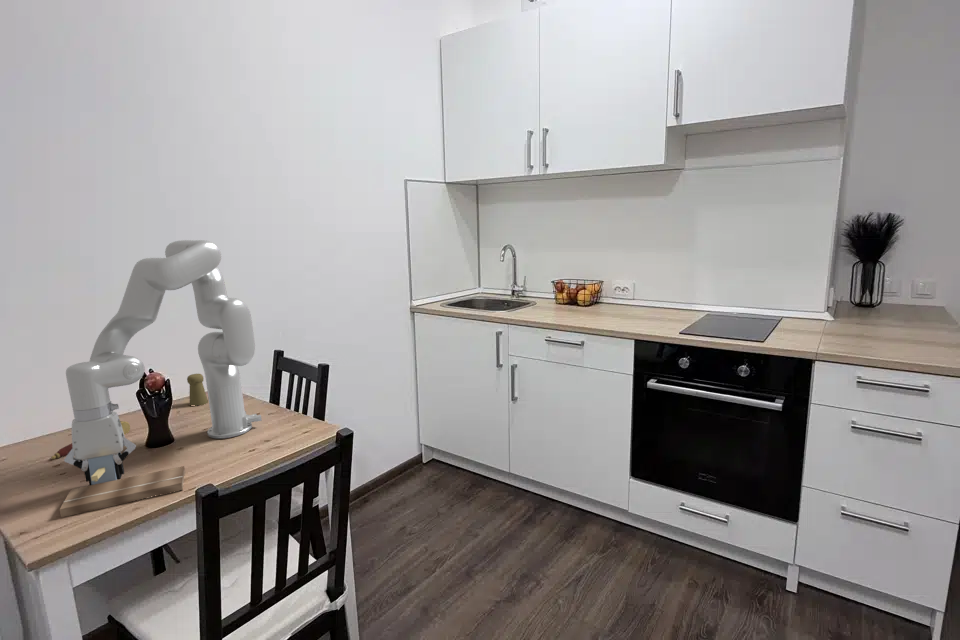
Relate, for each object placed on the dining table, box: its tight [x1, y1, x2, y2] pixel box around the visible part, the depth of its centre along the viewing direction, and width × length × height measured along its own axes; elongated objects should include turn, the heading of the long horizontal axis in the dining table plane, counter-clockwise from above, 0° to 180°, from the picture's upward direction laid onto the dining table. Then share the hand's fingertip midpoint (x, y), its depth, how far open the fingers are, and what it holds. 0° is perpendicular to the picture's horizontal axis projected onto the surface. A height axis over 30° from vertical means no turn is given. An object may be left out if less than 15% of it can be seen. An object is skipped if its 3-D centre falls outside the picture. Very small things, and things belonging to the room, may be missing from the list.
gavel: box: [51, 420, 131, 460], centre depth 156 cm, size 21×5×10 cm
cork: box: [186, 373, 209, 407], centre depth 188 cm, size 6×6×11 cm
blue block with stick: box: [88, 455, 118, 485], centre depth 127 cm, size 5×13×7 cm, turn 27°
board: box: [59, 465, 186, 518], centre depth 126 cm, size 24×10×2 cm, turn 116°
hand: (106, 479), depth 131 cm, fingers closed on blue block with stick, 5 cm apart
